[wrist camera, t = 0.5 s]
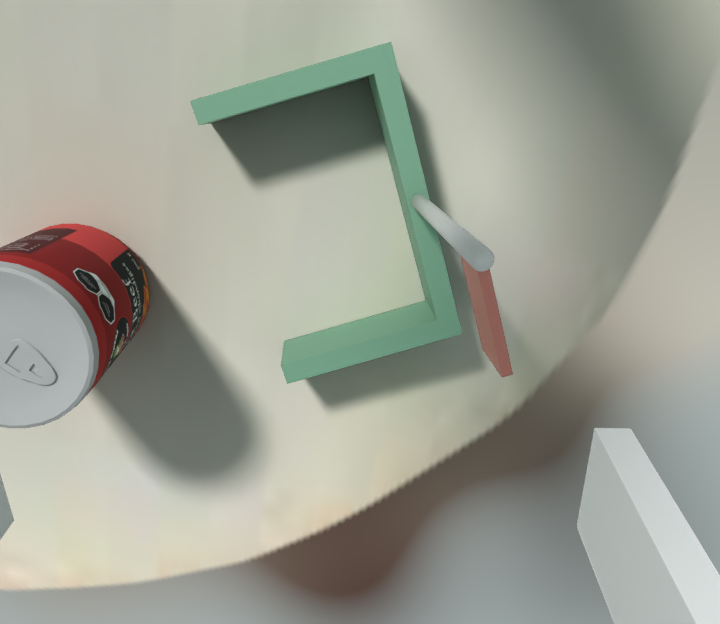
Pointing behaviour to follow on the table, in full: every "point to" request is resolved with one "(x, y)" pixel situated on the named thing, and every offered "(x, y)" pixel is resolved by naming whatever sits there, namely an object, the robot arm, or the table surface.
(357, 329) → the green c-shaped bracket
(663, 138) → the table surface
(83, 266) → the canned food
